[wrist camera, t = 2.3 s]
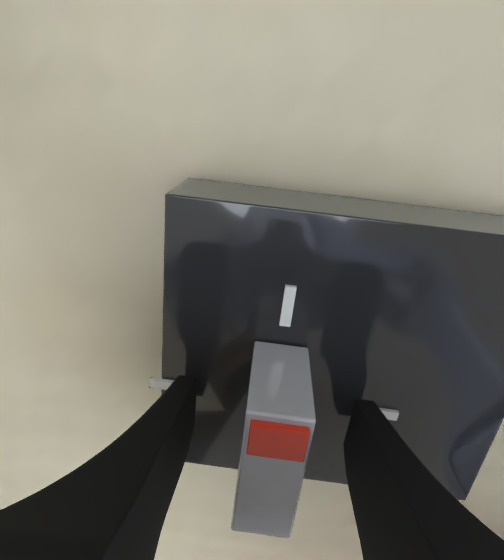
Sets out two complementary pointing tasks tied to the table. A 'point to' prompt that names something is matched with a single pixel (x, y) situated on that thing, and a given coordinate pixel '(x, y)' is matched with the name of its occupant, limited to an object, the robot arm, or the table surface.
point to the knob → (274, 440)
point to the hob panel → (338, 318)
